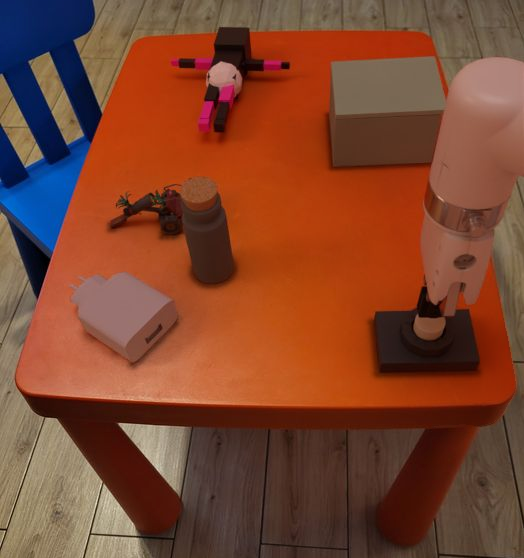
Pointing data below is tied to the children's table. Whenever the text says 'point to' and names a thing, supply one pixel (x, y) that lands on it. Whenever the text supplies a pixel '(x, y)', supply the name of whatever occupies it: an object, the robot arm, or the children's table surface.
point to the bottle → (206, 230)
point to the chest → (382, 138)
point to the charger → (123, 312)
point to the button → (429, 327)
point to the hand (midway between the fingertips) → (430, 312)
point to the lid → (387, 88)
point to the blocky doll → (226, 73)
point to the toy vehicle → (154, 209)
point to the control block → (424, 344)
